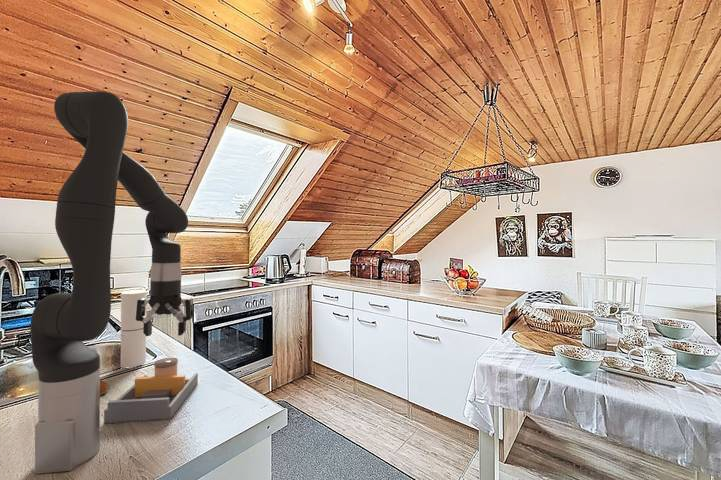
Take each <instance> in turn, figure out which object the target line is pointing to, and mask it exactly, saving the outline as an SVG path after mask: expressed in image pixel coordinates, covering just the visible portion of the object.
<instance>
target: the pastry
mask: <svg viewBox="0 0 721 480" xmlns="http://www.w3.org/2000/svg"><path fill="white" fill-rule="evenodd" d="M109 388H110V386H109V384H108V383H107V382H105V380H102V379H101V378H100V396H102V395H104V394H106V393H107V392H108V390H109Z"/></svg>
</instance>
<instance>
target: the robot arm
mask: <svg viewBox="0 0 721 480" xmlns="http://www.w3.org/2000/svg"><path fill="white" fill-rule="evenodd" d="M53 105H54V106H53V109H54V110H53V111H54V115H55V117H56V119H57V121H58V122H59V124H60V125H61V126H62V127H63V128H64V129H65V131H66V132H67V133H68V134H69V135H70V136H71V137H72V138H74V140H75V141H77V142H78V144H79V145H81V146H82V147H83V148H84V149H85V151H84V154H83V156H82V157H81V159H80V161H79V163H78V164H77V165H76V167H75V168H74V169H73V170H72V171H71V173H70V175H69V176H68V177H67V179H66V180H65V182H64V183H63V185H62V187H61V188H60V190H59V192H58V194H57V195H58V196H57V201H56V208H55V210H56V211H55V219H54V226H55V232H56V235H57V238H58V239H59V242H60V244H61V246H62V247H63V249H64V251H65V253H66V255H67V256H68V259H69V262H70V265H71V269H72V275H73V276H72V290H71V291H72V292H55V293H52V294H49V295H47V296H44V297H43V298H42V299H41V300H40V301H39V302H38V303H37V305H36V306H35V307H34V309H33V311H32V315H31V318H30V343H31V357H32V364H33V365H34V367H35V369H36V372H37V373H38V422H36V423H35V425H34V474H38V475H39V474H48V473H60V472H69V471H72V470H73V469H74V468H76V467H77V466H79V465H81V464H83V463H85V462H87V461H88V460H90V459H91V458H92V457H94V456H95V455H96V454H97V453H98V452H99V449H100V447H101V446H100V445H101V444H100V442H101V440H100V439H101V438H100V436H101V434H100V433H101V432H100V431H101V430H100V429H101V428H100V427H101V425H100V424H101V423H100V420H101V419H100V418H101V417H100V416H101V415H100V414H101V413H100V411H101V410H100V409H101V408H100V403H101V402H100V401H101V400H100V399H101V398H100V397H101V395H100V379H101V371H100V369H101V357H100V355H99V353H98V352H97V351H95V350H93V349H92V348H90V347H89V346H88V345H86V344H85V343H84V342H86V341H88V342H89V341H92V340H94V339H96V338H99V336H101V335H102V334H103V333H104V331H105V330H106V328H107V327H108V325H109V321H110V317H111V309H112V296H111V295H112V293H111V292H112V291H111V259H112V257H111V255H112V240H113V239H112V238H113V231H114V225H115V217H116V216H115V215H116V204H117V203H116V201H117V200H116V199H117V190H118V189H117V188H118V182H119V184H121V185H122V187H123V188H124V189H125V191H127V193H128V194H129V195H130V197H131V199H132V200H133V201H134V202H135V203H136V204H137V206H138V207H139V208H140V209H142V210H143V211H147V212H148V213H147V214H146V217H145V228H146V229H145V230H146V232H147V235H148V239H149V242H150V246H151V251H152V252H151V267H150V274H149V275H150V276H149V277H150V280H149V284H150V285H149V286H150V287H149V297H150V298H149V299H148V298H146V299H145V298H142V299H140V300H138V301H137V310H136V321H142V322H143V324H144V326H143V333H144V334H145V336H146V337H150V336H151V335H152V333H153V321H152V320H153V318H154V317H155V316H156V315H166V316H167V315H169V316H170V315H171V314H172V316H173V317H174V318H176V319H177V320H178V324H177V326H178V328H177V336H180V337H181V336H183V335H184V334H185V333H186V332H187V331H186V330H187V322H188V321H190V320H191V319H193V318H194V301H193V298H192V297H189V298H182V296H181V294H182V276H183V274H182V266H181V257H182V256H181V255H182V254H181V253H182V252H181V251H182V250H181V249H182V248H181V245H180V243H178V242H176V241H173V240H170V239H169V237H168V234H180V233H182V232H184V231H185V230H186V229H188V226H189V218H188V215H187V212H185V210H184V209H183V208H182V207H181V206H180V204H178V203H177V202H176V201H175V200H174V199H173V198H171V197H170V196H169V195H167V194H166V193H165V191H164V190H163V188H162V187H161V185H160V184H159V182H158V181H157V179H156V178H155V176H154V175H153V174H152V173H151V172H150V171H149V170H148V169H147V168H145V167H144V166H143V165H142V164H140V163H139V162H138V161H136V160H135V159H133V157H131V156H129V154H127V153H126V152H125V151H124V149H125V148H124V146H125V143H126V138H127V135H128V134H127V133H128V128H129V118H128V112H127V109H126V106H125V105H124V102H123V101H122V100H121V99H120V98H119V97H118V96H117V95H115V94H113V93H112V92H109V91H108V92H107V91H99V90H98V91H97V90H96V91H91V90H90V91H71V92H70V91H69V92H65V93H62V94H60V95H58V96H57V97H56V99H55V101H54V104H53ZM182 304H183V306H184V308H185V314H184V311H183V310H182V308H181V307H180V306H181V305H182ZM148 305H149V307H151V309H150V310H149V311H148V313H146V316H145V309H146V310H147V306H148Z"/></svg>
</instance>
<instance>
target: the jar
mask: <svg viewBox="0 0 721 480" xmlns="http://www.w3.org/2000/svg"><path fill="white" fill-rule="evenodd" d="M178 363H179V359H178V358H177V357H164V358H160V359H158V360H156V361H154V363H153V366H154V376H176V375H178Z"/></svg>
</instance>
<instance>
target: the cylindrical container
mask: <svg viewBox="0 0 721 480" xmlns="http://www.w3.org/2000/svg"><path fill="white" fill-rule="evenodd" d="M142 298H145V299H147V290H146V289H145V290H144V289H140V290H139V289H138V290H137V289H136V290H135V289H134V290H133V289H132V290H126V291H122V292H121V293H120V368H121V369H125V368H126V367H135V368H137V367H136V366H139V365H142V364H144V363H145V362H146V363H147V336H145V334H144V333H143V326H144V324H143V322H142V321H136V310H137V301H138V300H140V299H142ZM145 316H147V308H146V309H145ZM146 363H145V364H146ZM145 364H144V365H145ZM142 366H143V365H142ZM139 367H140V366H139Z"/></svg>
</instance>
